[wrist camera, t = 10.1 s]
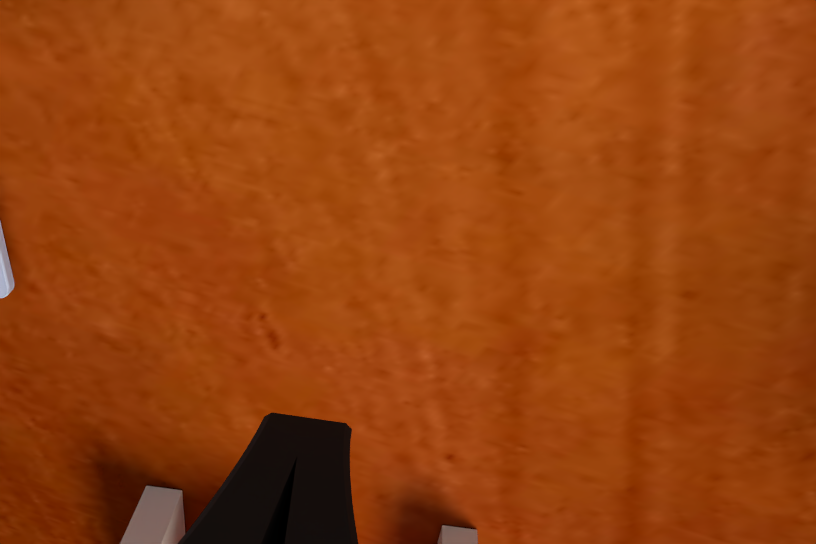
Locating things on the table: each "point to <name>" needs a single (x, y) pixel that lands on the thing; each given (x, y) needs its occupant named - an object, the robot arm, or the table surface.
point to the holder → (164, 521)
